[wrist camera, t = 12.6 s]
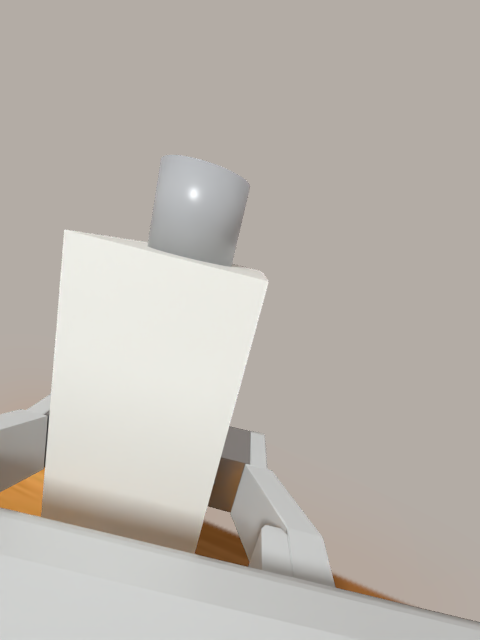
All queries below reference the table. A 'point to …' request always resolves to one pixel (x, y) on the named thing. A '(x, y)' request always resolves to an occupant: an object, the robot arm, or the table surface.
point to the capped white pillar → (151, 362)
